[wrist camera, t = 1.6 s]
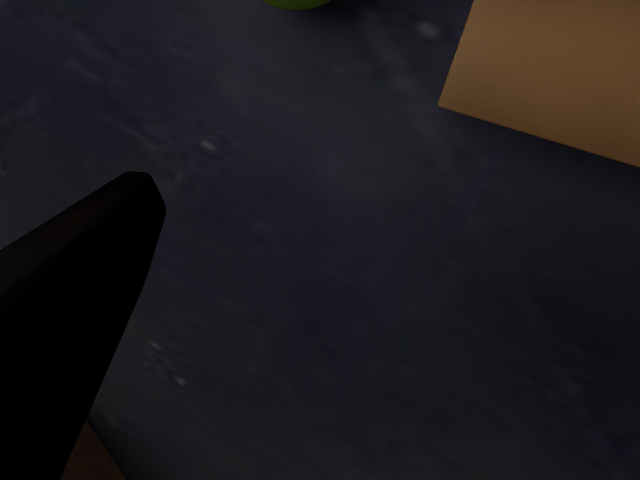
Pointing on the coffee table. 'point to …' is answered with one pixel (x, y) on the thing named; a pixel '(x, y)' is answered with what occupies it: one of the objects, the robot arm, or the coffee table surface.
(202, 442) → the coffee table surface
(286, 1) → the snail figurine
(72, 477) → the tissue box cover
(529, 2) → the tan rectangular block
